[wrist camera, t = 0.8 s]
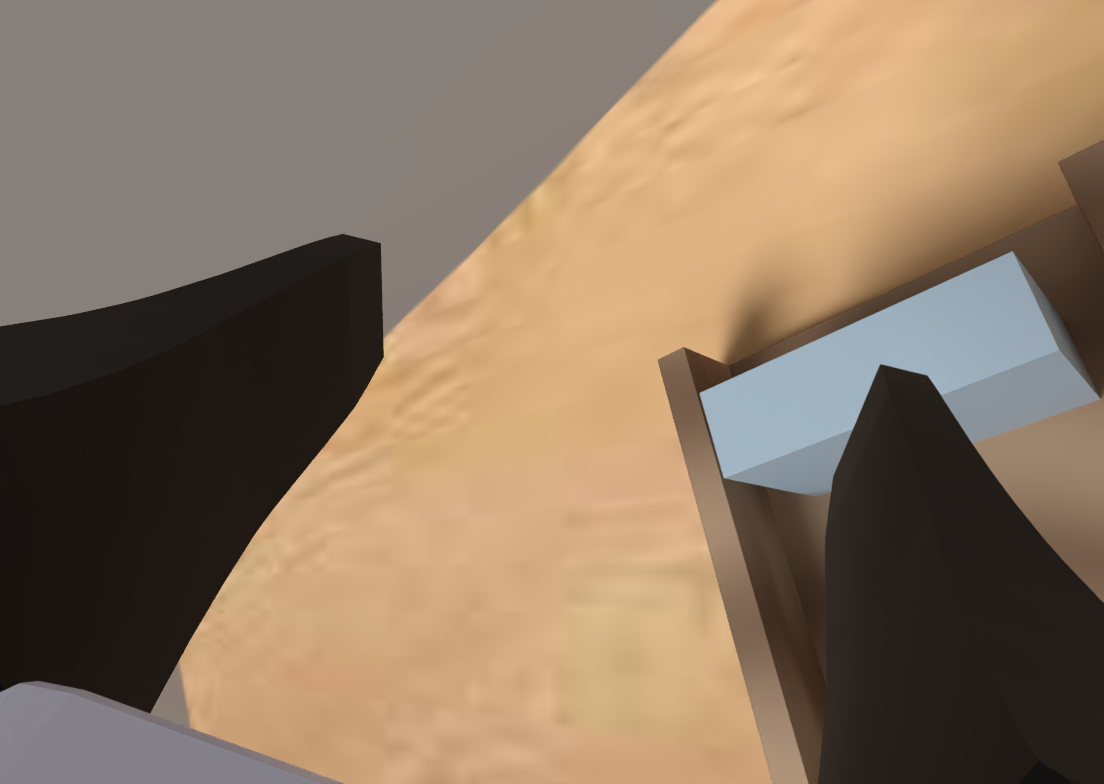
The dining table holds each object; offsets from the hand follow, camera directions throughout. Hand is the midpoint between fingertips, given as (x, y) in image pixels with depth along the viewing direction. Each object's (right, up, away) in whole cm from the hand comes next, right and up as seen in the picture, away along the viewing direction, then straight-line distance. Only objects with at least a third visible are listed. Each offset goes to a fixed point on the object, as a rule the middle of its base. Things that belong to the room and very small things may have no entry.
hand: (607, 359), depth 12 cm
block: (+10, -1, +12) cm, 16 cm away
